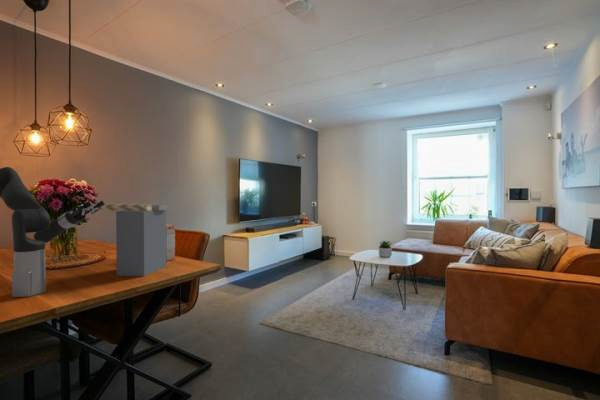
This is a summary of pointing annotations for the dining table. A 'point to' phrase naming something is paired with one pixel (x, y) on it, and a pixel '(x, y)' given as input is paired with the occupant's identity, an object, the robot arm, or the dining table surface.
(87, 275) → the dining table surface
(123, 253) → the chute stand
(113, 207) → the striped beige bar
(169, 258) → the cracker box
